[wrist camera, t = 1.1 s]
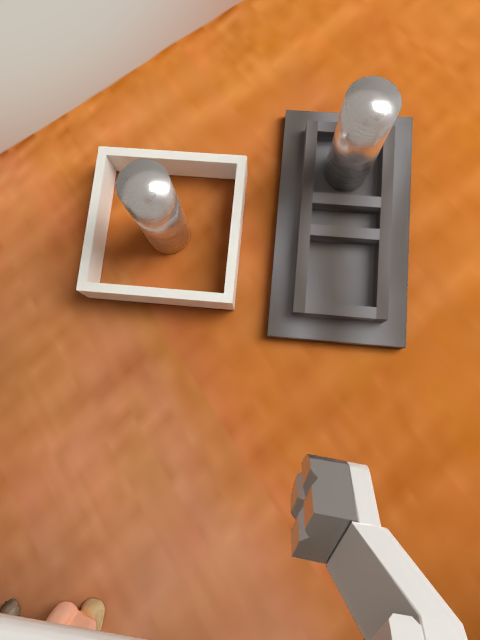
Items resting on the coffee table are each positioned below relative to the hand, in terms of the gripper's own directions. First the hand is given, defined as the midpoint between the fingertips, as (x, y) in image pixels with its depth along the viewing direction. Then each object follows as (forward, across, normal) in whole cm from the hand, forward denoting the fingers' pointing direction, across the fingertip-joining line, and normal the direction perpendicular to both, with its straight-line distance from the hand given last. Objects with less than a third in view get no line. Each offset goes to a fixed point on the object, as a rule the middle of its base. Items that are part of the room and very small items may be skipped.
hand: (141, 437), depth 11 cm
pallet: (+33, -10, +5) cm, 35 cm away
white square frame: (+32, +5, +9) cm, 33 cm away
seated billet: (+35, -10, +1) cm, 37 cm away
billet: (+32, +5, +9) cm, 33 cm away
